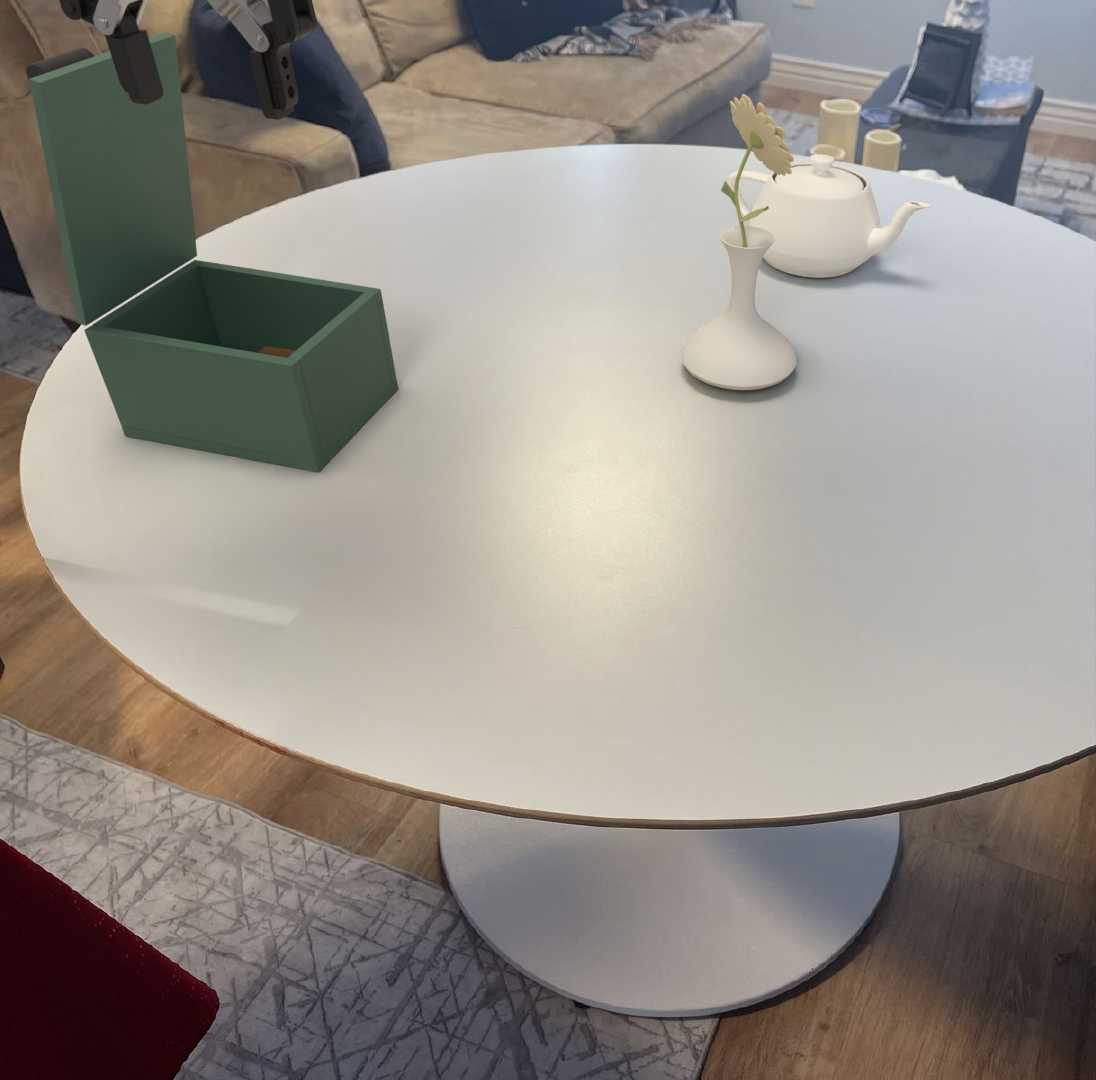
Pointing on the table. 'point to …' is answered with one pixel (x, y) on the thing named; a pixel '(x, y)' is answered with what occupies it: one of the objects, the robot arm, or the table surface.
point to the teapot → (821, 218)
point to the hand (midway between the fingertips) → (213, 108)
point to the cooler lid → (114, 175)
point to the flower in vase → (745, 281)
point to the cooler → (247, 363)
